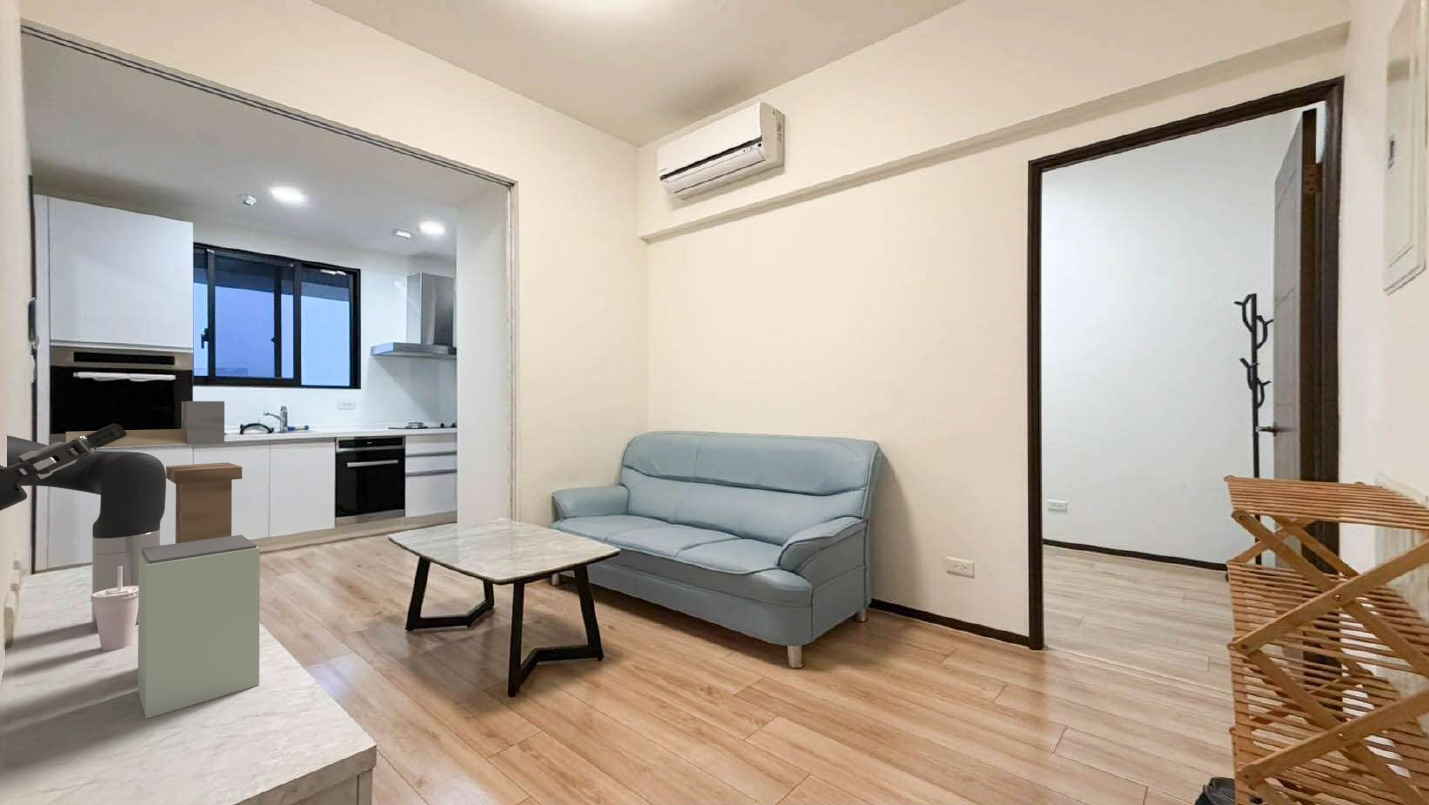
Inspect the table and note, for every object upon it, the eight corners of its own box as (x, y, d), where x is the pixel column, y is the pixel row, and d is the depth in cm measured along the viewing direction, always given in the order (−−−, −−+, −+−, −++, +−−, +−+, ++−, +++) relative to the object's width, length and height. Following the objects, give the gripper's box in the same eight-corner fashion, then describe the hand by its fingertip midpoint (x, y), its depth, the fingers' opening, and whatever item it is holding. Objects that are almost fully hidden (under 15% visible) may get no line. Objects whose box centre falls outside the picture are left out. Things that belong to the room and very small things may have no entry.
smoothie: (107, 655, 95) (108, 572, 95) (79, 652, 96) (80, 570, 96) (152, 640, 101) (153, 562, 101) (125, 637, 102) (126, 560, 102)
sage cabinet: (137, 690, 83) (138, 548, 83) (242, 662, 92) (243, 534, 92) (145, 719, 75) (146, 562, 75) (259, 685, 84) (259, 545, 84)
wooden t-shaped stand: (164, 656, 94) (166, 466, 95) (227, 640, 100) (228, 462, 101) (174, 678, 86) (175, 471, 87) (241, 660, 93) (242, 466, 93)
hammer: (65, 447, 85) (66, 401, 85) (216, 441, 98) (216, 401, 98) (66, 449, 80) (66, 400, 80) (224, 443, 93) (224, 401, 93)
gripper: (-13, 512, 81) (135, 447, 93) (-23, 525, 72) (143, 451, 84) (-57, 470, 78) (102, 408, 90) (-72, 478, 69) (106, 407, 81)
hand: (121, 429), depth 87 cm, fingers closed on hammer, 2 cm apart
